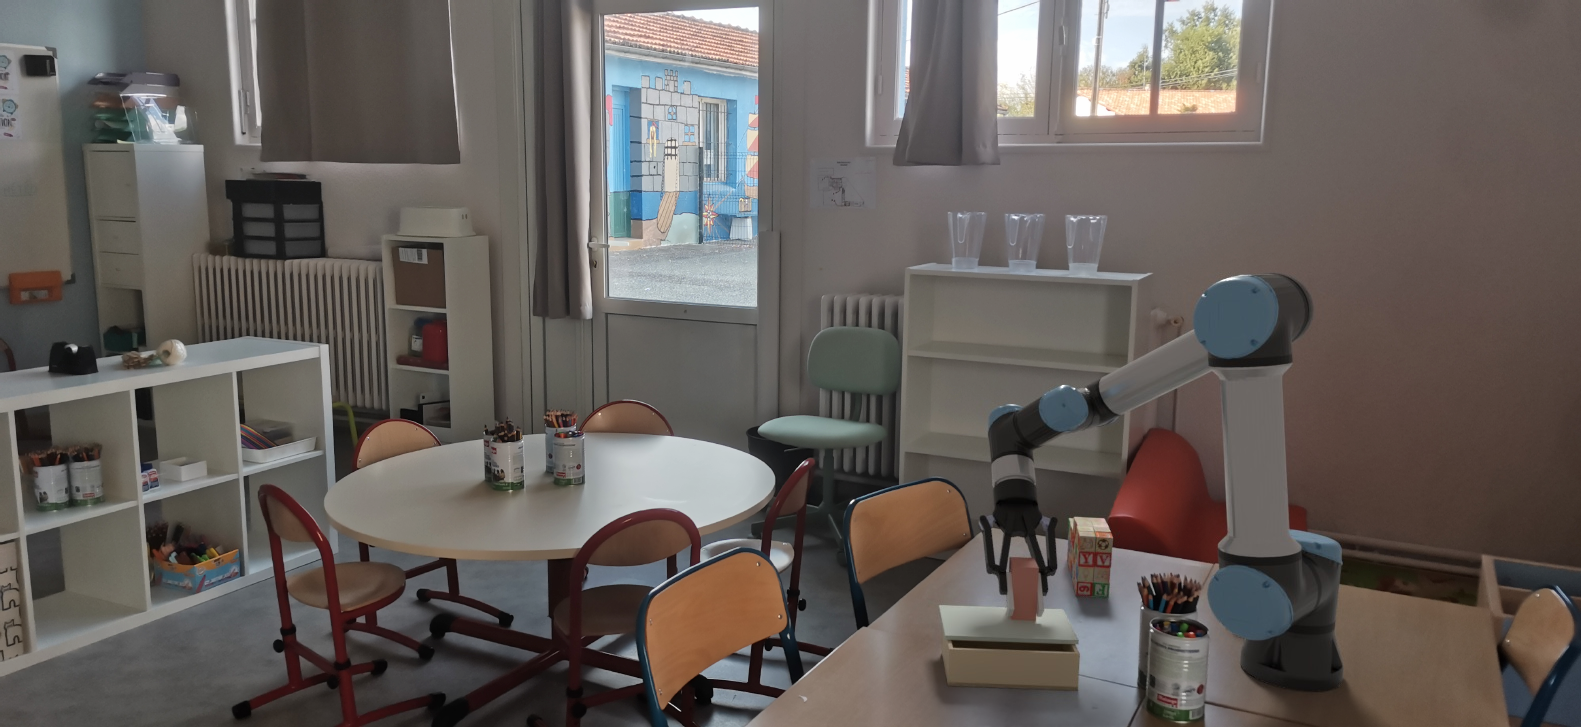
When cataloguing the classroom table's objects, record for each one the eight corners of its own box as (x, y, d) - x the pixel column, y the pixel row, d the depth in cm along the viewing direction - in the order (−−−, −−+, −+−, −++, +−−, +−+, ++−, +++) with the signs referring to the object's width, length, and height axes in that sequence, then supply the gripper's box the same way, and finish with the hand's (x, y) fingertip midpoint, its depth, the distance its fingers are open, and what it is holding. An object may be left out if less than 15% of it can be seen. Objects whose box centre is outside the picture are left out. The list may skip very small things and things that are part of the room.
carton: (1063, 657, 179) (1065, 623, 179) (1077, 690, 168) (1080, 653, 167) (941, 653, 181) (943, 619, 180) (947, 685, 169) (949, 649, 168)
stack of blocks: (1066, 559, 228) (1069, 503, 227) (1096, 561, 228) (1100, 505, 226) (1075, 596, 208) (1079, 534, 206) (1109, 598, 207) (1113, 536, 205)
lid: (1063, 613, 182) (1065, 557, 181) (1078, 644, 170) (1081, 585, 168) (938, 608, 184) (940, 553, 182) (945, 639, 171) (947, 580, 169)
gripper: (1060, 498, 192) (1074, 623, 178) (963, 496, 193) (970, 620, 179) (1067, 477, 186) (1083, 604, 172) (967, 475, 187) (975, 601, 173)
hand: (1025, 612), depth 176 cm, fingers closed on lid, 4 cm apart
